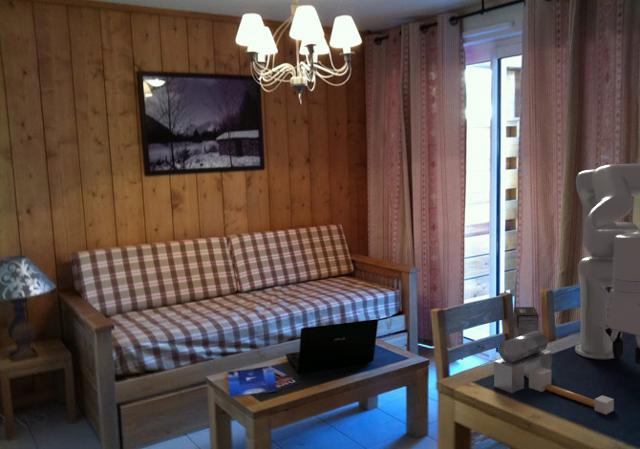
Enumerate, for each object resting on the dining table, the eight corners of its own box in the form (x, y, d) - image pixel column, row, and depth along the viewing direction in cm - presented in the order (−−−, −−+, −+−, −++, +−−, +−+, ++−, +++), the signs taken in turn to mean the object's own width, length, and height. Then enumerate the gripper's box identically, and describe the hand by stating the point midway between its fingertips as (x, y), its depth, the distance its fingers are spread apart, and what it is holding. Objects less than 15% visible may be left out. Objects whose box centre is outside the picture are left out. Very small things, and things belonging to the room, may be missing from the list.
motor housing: (533, 370, 171) (533, 327, 169) (551, 376, 166) (551, 331, 164) (494, 386, 161) (493, 340, 159) (511, 393, 156) (511, 346, 154)
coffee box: (513, 354, 185) (513, 306, 183) (534, 354, 183) (534, 306, 181) (517, 364, 176) (517, 314, 174) (539, 365, 175) (539, 314, 173)
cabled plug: (534, 381, 163) (533, 364, 162) (614, 409, 143) (614, 391, 143) (524, 385, 160) (524, 368, 160) (604, 415, 141) (605, 396, 140)
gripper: (676, 289, 129) (674, 365, 131) (604, 277, 143) (603, 346, 146) (659, 295, 125) (657, 373, 127) (587, 282, 139) (586, 353, 141)
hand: (628, 358), depth 136 cm, fingers open, 4 cm apart
